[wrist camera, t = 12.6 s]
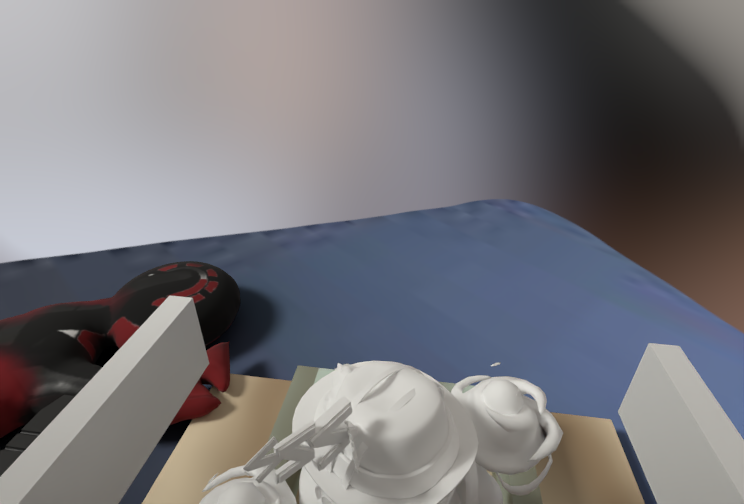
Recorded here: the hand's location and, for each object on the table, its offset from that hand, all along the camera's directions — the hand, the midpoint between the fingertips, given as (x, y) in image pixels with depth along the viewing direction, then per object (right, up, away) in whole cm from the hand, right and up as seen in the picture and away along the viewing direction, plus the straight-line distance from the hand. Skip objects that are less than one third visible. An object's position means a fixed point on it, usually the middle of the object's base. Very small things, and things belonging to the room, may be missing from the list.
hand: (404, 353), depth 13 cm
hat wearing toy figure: (-1, -9, +1) cm, 9 cm away
